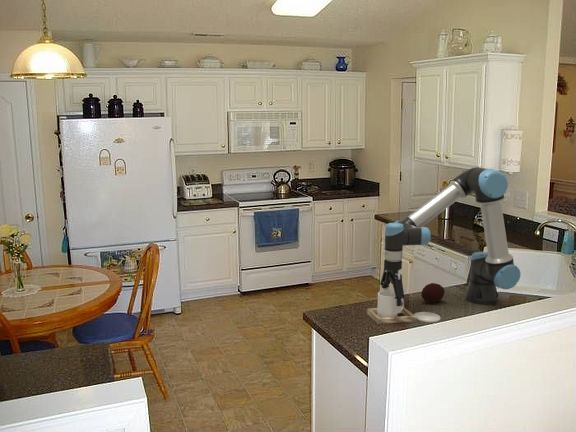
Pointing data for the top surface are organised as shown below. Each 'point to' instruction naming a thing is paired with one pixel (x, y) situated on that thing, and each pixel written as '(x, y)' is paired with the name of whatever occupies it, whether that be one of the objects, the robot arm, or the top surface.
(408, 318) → the wooden picture frame
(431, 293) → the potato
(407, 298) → the top surface
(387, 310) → the mug
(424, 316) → the plate
